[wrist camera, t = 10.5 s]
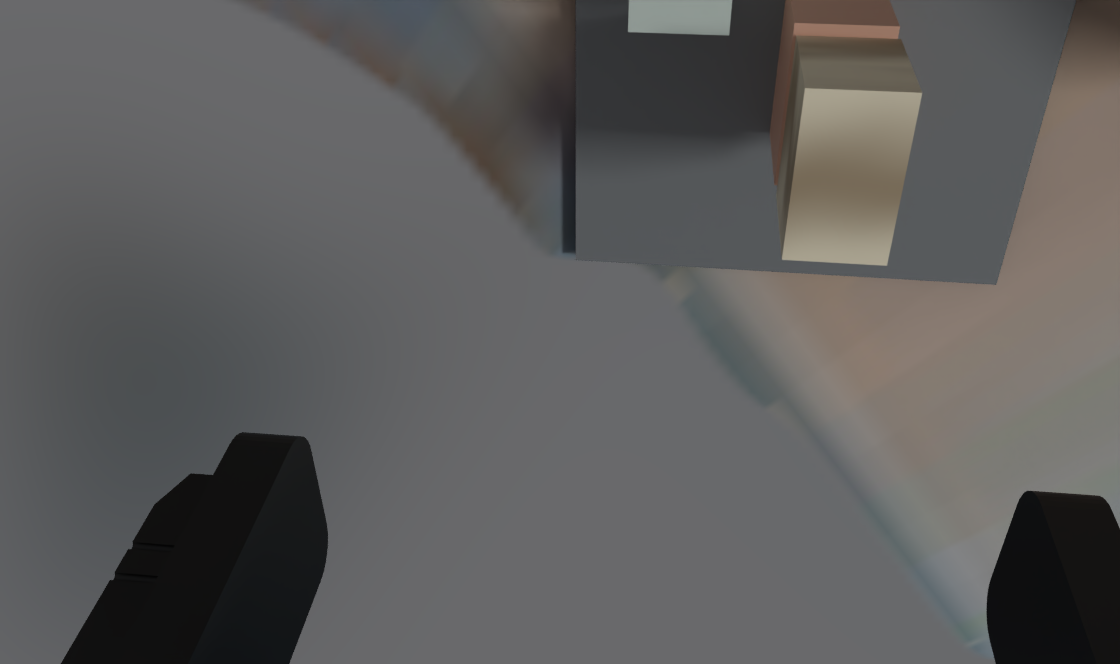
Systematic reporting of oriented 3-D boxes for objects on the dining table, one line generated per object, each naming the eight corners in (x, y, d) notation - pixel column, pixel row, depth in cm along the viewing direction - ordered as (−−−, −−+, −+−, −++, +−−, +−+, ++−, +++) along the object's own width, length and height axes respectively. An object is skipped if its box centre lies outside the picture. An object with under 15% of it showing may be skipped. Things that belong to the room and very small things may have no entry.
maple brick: (796, 35, 35) (804, 88, 31) (901, 38, 34) (922, 93, 31) (775, 195, 38) (781, 259, 34) (871, 200, 38) (887, 265, 34)
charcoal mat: (577, -257, 35) (575, -255, 34) (1140, -254, 33) (1146, -252, 32) (577, 253, 47) (575, 260, 46) (993, 277, 45) (996, 284, 44)
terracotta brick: (787, -19, 38) (794, 23, 34) (883, -17, 38) (900, 26, 34) (769, 132, 41) (774, 185, 38) (857, 136, 41) (869, 189, 37)
